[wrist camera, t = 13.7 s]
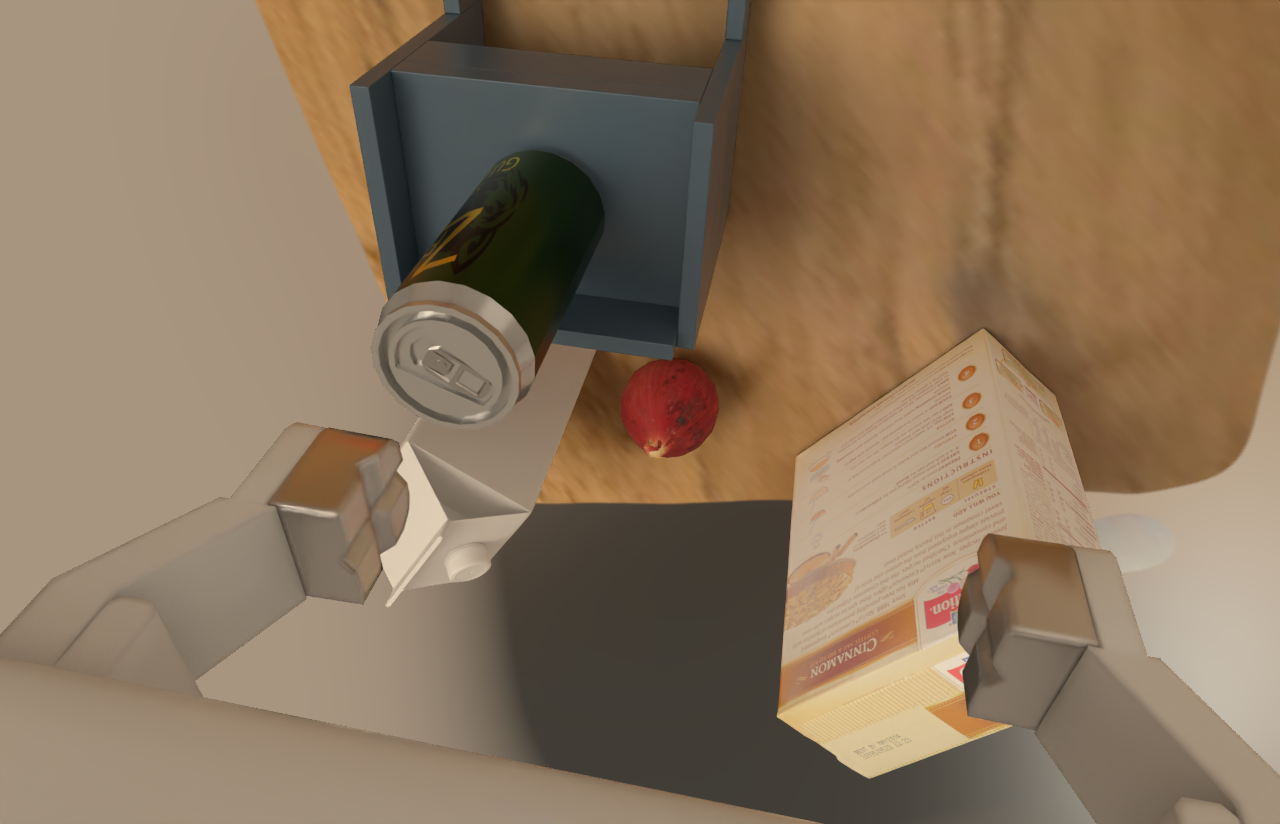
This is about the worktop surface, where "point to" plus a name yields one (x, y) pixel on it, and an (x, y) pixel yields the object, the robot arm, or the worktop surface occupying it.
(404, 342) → the green drink can
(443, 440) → the milk carton
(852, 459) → the coffeecake box
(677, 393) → the onion
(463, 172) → the rack
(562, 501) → the worktop surface
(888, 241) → the worktop surface
